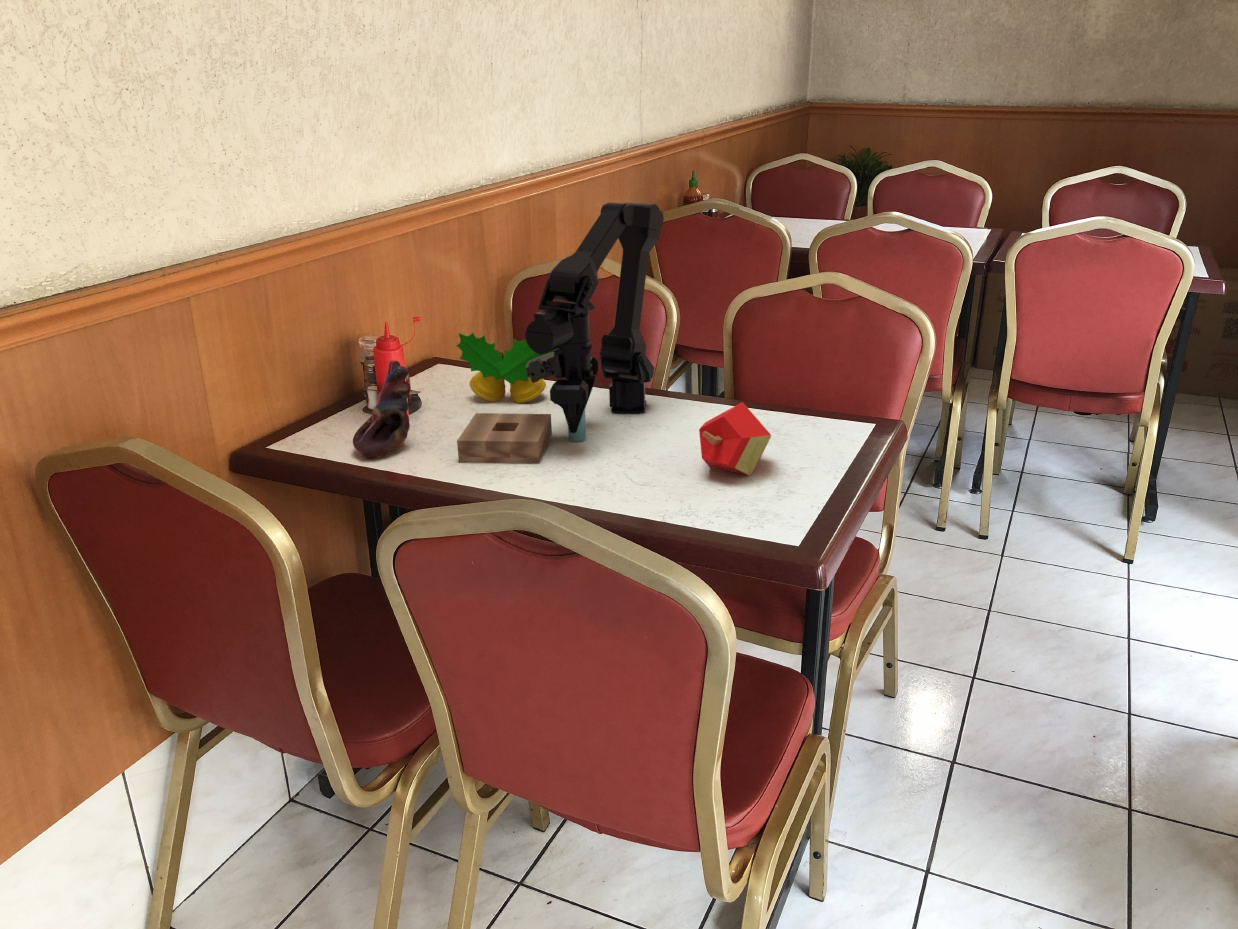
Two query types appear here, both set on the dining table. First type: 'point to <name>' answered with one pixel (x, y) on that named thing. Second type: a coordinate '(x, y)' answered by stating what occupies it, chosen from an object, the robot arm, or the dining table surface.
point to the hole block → (505, 438)
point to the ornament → (500, 369)
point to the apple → (733, 440)
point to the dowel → (579, 431)
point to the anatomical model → (386, 417)
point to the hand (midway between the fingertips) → (576, 423)
